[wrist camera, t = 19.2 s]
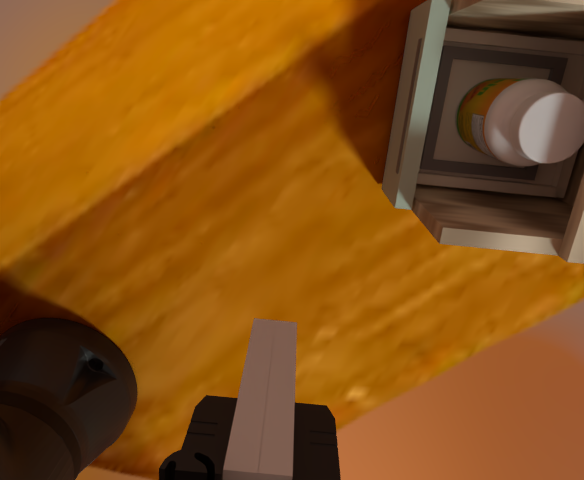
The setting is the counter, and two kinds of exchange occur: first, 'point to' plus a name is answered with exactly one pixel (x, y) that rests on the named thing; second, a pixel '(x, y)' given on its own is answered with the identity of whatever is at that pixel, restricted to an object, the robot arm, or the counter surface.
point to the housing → (500, 205)
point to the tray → (447, 94)
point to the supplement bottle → (521, 120)
